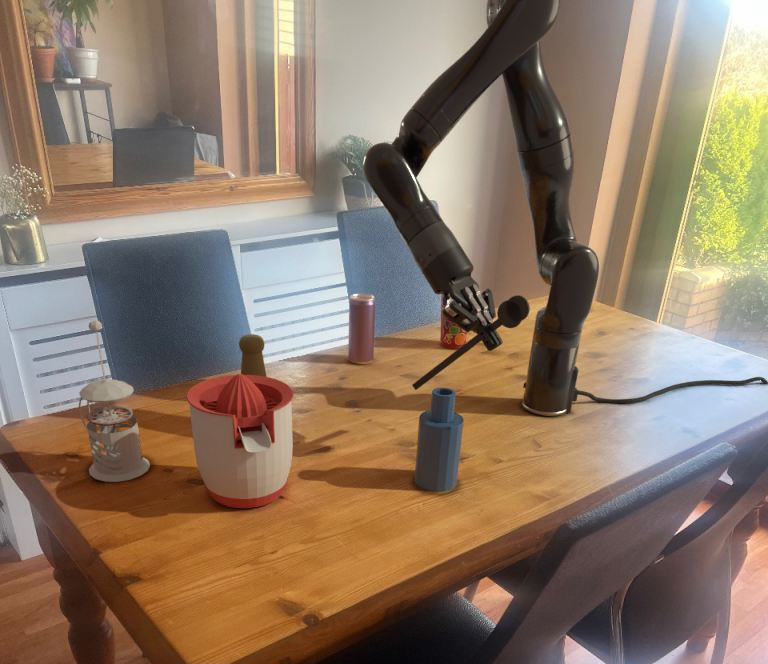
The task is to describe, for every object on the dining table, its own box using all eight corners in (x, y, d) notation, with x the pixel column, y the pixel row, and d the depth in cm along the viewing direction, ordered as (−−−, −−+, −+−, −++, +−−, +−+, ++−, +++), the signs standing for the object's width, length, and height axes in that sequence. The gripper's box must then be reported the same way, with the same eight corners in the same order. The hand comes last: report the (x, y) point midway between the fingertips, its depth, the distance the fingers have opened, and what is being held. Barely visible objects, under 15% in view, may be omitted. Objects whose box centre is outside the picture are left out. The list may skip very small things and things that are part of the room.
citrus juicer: (211, 531, 106) (198, 405, 95) (188, 477, 119) (175, 361, 109) (312, 512, 111) (311, 391, 101) (280, 462, 125) (276, 351, 114)
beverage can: (370, 366, 167) (372, 301, 159) (345, 363, 168) (346, 298, 160) (375, 357, 172) (378, 294, 164) (351, 354, 173) (352, 292, 165)
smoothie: (447, 352, 178) (455, 269, 167) (430, 342, 184) (437, 261, 173) (476, 348, 181) (485, 267, 171) (458, 338, 187) (466, 259, 177)
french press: (116, 487, 115) (89, 335, 102) (68, 467, 120) (37, 319, 107) (162, 464, 122) (142, 319, 109) (115, 446, 127) (91, 305, 114)
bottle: (450, 473, 124) (460, 383, 116) (460, 493, 118) (471, 400, 110) (411, 474, 123) (417, 383, 114) (419, 495, 117) (426, 401, 109)
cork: (273, 384, 155) (271, 334, 149) (258, 393, 150) (255, 342, 145) (250, 379, 157) (247, 329, 151) (234, 387, 152) (230, 337, 147)
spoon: (408, 376, 132) (520, 289, 112) (421, 397, 132) (535, 312, 112) (407, 377, 132) (518, 289, 112) (419, 397, 132) (533, 313, 112)
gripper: (433, 249, 111) (493, 344, 111) (476, 238, 120) (531, 326, 121) (403, 278, 116) (460, 369, 117) (446, 265, 125) (499, 349, 126)
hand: (496, 347), depth 119 cm, fingers closed on spoon, 1 cm apart
